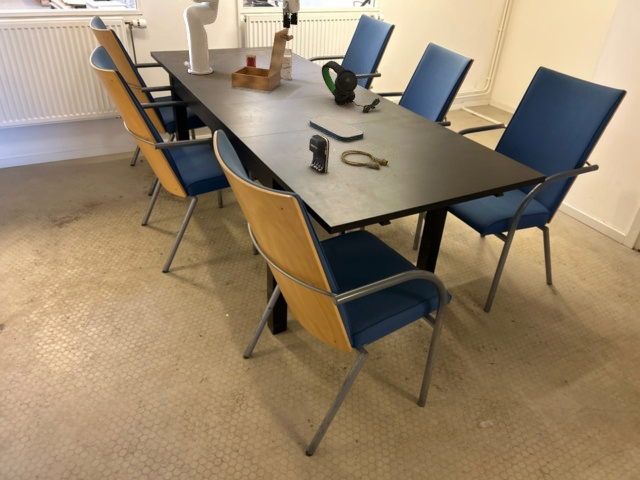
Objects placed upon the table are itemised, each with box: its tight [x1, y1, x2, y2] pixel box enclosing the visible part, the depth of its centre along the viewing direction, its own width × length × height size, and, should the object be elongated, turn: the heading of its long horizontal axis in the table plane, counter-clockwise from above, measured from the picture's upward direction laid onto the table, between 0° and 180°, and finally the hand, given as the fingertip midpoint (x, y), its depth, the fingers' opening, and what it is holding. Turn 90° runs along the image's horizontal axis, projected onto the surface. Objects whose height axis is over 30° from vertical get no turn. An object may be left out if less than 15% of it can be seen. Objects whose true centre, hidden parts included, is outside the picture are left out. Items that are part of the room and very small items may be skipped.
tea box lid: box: [268, 28, 294, 77], centre depth 227 cm, size 20×16×5 cm
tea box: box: [230, 65, 282, 92], centre depth 237 cm, size 19×16×7 cm
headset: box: [321, 60, 381, 113], centre depth 217 cm, size 18×14×29 cm
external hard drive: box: [309, 115, 364, 142], centre depth 191 cm, size 24×12×2 cm, turn 37°
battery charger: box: [308, 133, 330, 174], centre depth 157 cm, size 7×4×11 cm, turn 34°
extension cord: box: [341, 149, 389, 169], centre depth 168 cm, size 12×16×2 cm
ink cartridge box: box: [281, 47, 293, 80], centre depth 249 cm, size 9×5×15 cm, turn 84°
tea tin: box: [245, 54, 257, 68], centre depth 248 cm, size 5×5×11 cm
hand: (290, 26), depth 220 cm, fingers open, 9 cm apart
